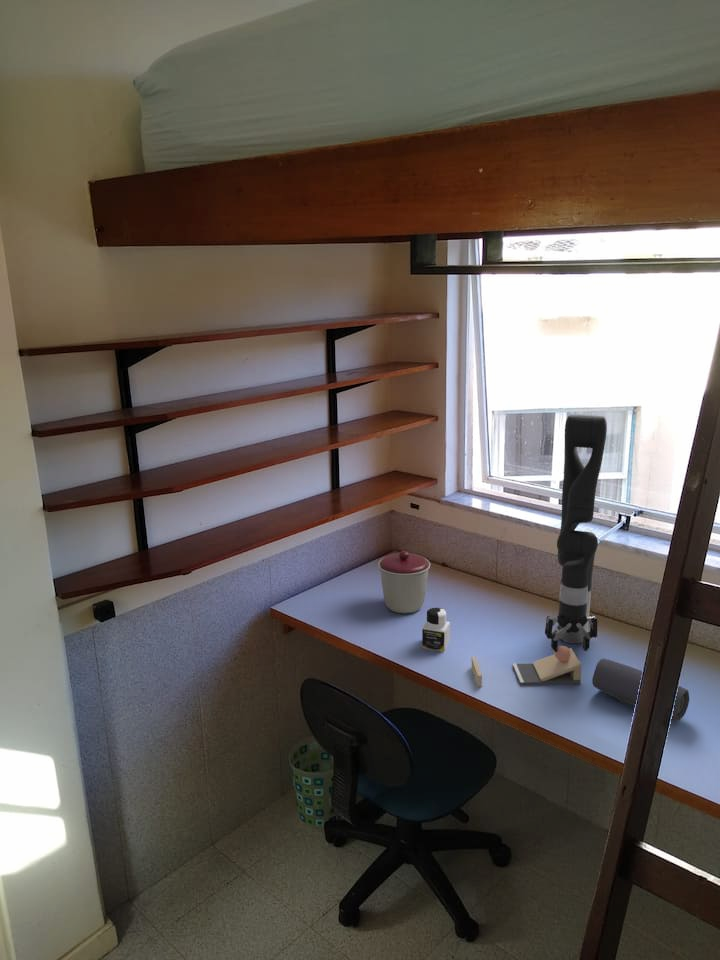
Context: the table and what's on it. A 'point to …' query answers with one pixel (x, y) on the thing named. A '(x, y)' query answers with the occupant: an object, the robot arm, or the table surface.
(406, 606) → the canister
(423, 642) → the medicine bottle
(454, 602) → the table surface
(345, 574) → the table surface
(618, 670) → the bluetooth speaker
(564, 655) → the ball
